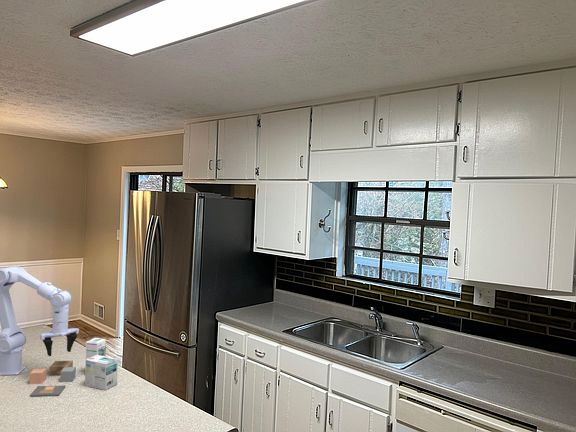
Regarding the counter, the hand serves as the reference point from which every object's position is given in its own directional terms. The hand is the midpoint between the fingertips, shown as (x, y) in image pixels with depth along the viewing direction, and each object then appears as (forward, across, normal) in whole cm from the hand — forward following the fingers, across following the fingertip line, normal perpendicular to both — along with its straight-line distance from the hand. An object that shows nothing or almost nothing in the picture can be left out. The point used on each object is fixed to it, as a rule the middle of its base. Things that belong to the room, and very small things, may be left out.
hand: (59, 353), depth 183 cm
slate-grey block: (+10, +1, -6) cm, 12 cm away
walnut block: (+10, +2, +3) cm, 11 cm away
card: (+10, -8, -12) cm, 18 cm away
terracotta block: (+10, -8, 0) cm, 13 cm away
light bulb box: (+10, +9, -20) cm, 23 cm away
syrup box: (+10, +12, -7) cm, 17 cm away
